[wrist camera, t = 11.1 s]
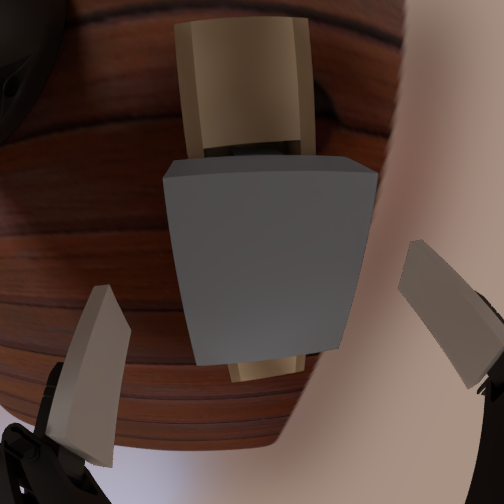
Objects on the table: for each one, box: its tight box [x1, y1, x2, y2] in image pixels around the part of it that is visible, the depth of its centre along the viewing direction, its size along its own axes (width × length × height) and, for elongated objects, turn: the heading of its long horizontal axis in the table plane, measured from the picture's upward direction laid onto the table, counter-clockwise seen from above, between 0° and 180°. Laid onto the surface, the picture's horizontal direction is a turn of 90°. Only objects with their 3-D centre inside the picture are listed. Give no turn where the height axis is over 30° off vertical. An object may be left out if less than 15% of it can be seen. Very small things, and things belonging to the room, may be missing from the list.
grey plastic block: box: [163, 147, 378, 366], centre depth 15 cm, size 8×10×7 cm
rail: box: [174, 16, 316, 382], centre depth 17 cm, size 6×24×4 cm, turn 4°
